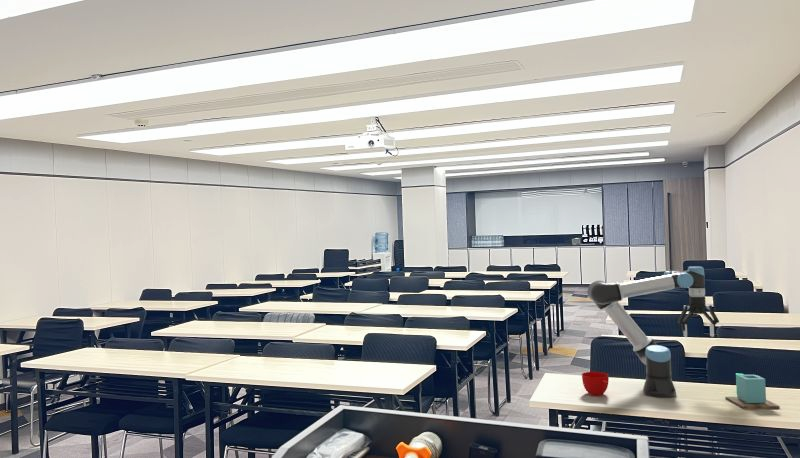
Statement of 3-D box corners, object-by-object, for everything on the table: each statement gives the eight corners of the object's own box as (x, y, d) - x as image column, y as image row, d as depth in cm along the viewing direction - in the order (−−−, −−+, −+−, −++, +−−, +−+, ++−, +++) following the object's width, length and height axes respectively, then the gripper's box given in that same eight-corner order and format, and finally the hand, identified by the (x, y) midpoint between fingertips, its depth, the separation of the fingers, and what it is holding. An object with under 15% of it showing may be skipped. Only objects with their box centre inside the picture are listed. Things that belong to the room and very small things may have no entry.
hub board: (743, 409, 259) (742, 383, 259) (725, 399, 274) (724, 375, 275) (779, 408, 258) (778, 383, 258) (759, 398, 274) (758, 374, 274)
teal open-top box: (737, 397, 271) (736, 374, 271) (755, 397, 270) (754, 374, 270) (747, 403, 262) (746, 378, 262) (766, 402, 262) (765, 378, 262)
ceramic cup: (595, 400, 278) (594, 380, 279) (577, 392, 295) (577, 372, 295) (619, 398, 281) (618, 378, 281) (600, 389, 298) (599, 370, 298)
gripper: (675, 297, 294) (677, 338, 293) (725, 296, 292) (727, 337, 292) (669, 295, 301) (671, 335, 301) (718, 294, 300) (719, 334, 299)
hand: (698, 336), depth 296 cm, fingers open, 13 cm apart
